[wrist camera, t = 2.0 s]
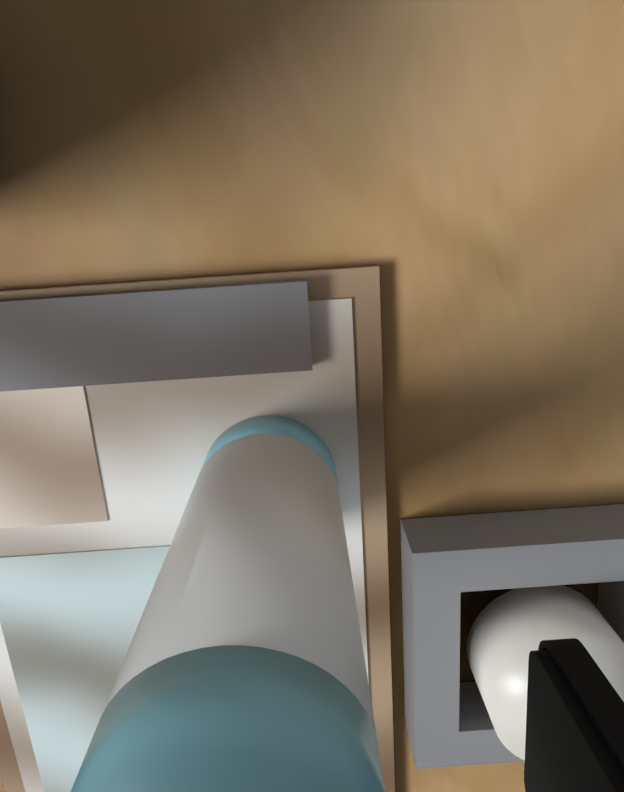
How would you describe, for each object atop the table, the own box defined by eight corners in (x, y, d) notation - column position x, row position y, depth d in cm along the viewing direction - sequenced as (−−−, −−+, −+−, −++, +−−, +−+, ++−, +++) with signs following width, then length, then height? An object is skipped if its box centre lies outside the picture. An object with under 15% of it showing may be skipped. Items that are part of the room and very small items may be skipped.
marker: (194, 420, 17) (12, 759, 6) (332, 411, 17) (391, 731, 6) (210, 542, 18) (79, 1009, 7) (339, 533, 18) (400, 985, 7)
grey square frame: (400, 519, 18) (412, 553, 16) (649, 502, 18) (689, 534, 16) (404, 718, 21) (416, 768, 19) (625, 702, 21) (659, 751, 19)
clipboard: (-124, 298, 16) (-156, 304, 15) (376, 265, 16) (383, 268, 15) (25, 829, 22) (10, 863, 20) (393, 802, 22) (399, 834, 21)
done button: (467, 588, 18) (494, 645, 15) (609, 578, 18) (658, 634, 15) (465, 703, 19) (490, 772, 16) (598, 694, 19) (641, 762, 16)
